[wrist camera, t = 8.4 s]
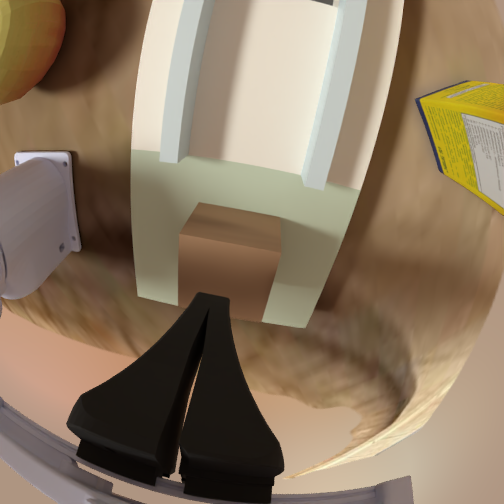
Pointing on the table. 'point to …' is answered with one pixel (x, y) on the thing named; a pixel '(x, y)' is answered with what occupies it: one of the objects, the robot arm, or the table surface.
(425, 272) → the table surface
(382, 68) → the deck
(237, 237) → the block
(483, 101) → the supplement box
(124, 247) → the table surface
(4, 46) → the apple
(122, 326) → the table surface
